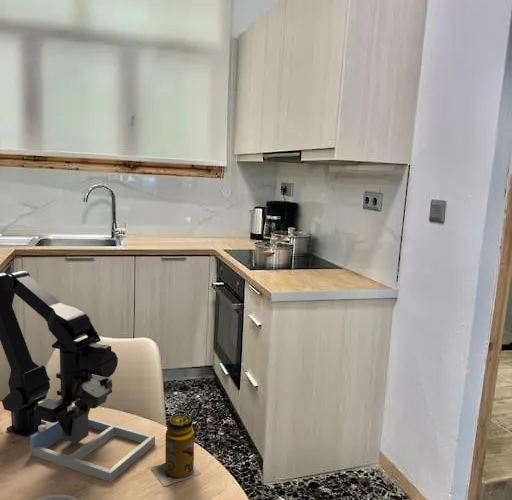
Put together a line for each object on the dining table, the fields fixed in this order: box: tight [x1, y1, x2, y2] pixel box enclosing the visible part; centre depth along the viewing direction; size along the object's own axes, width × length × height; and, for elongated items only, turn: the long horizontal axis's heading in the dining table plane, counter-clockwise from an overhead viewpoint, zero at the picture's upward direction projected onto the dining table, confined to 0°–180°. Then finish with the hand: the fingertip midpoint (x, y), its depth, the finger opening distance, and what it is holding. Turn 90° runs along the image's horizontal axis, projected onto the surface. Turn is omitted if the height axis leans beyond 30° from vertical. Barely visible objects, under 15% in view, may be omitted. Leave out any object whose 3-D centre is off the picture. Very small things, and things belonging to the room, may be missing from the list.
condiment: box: [150, 413, 201, 487], centre depth 108 cm, size 7×8×12 cm
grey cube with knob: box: [62, 405, 89, 444], centre depth 117 cm, size 4×4×8 cm
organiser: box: [29, 405, 156, 483], centre depth 115 cm, size 22×16×6 cm
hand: (75, 431), depth 117 cm, fingers closed on grey cube with knob, 4 cm apart
